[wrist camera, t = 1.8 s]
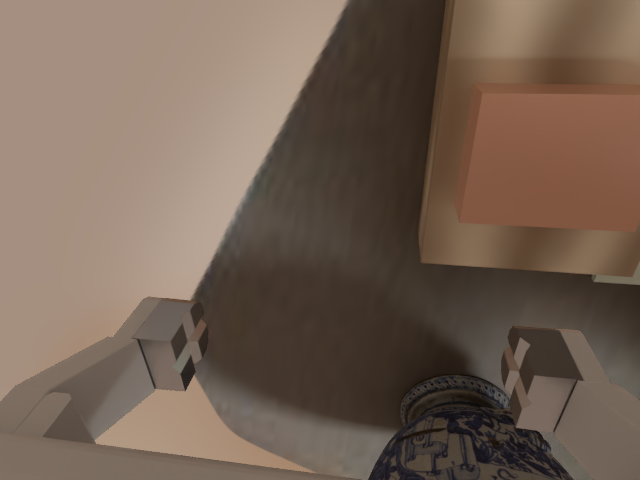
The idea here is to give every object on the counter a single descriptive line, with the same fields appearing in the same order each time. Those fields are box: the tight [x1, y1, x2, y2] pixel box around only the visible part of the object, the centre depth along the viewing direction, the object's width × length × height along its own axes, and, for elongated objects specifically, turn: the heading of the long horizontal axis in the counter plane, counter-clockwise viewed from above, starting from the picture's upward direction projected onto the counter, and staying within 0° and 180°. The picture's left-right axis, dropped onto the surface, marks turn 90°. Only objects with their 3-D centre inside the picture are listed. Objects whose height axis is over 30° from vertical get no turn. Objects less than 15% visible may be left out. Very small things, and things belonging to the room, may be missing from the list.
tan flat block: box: [418, 0, 640, 277], centre depth 24 cm, size 13×16×4 cm
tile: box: [454, 83, 640, 232], centre depth 22 cm, size 9×7×2 cm
